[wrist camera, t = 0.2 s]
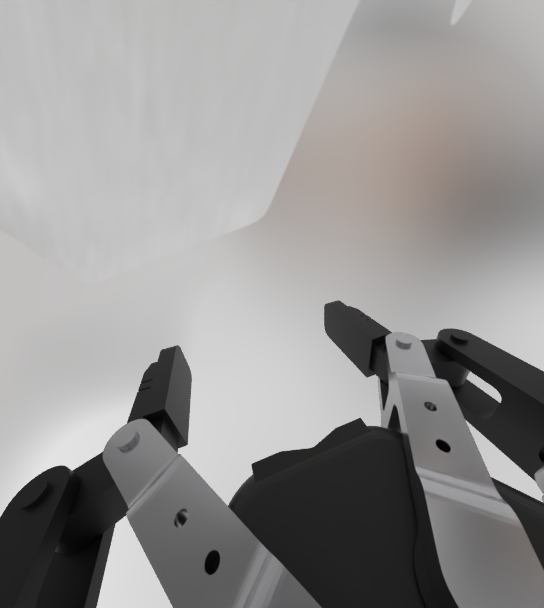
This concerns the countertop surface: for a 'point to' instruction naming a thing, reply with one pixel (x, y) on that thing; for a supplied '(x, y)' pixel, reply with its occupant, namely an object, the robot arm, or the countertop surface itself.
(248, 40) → the countertop surface
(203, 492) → the robot arm
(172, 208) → the countertop surface
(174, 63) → the countertop surface
